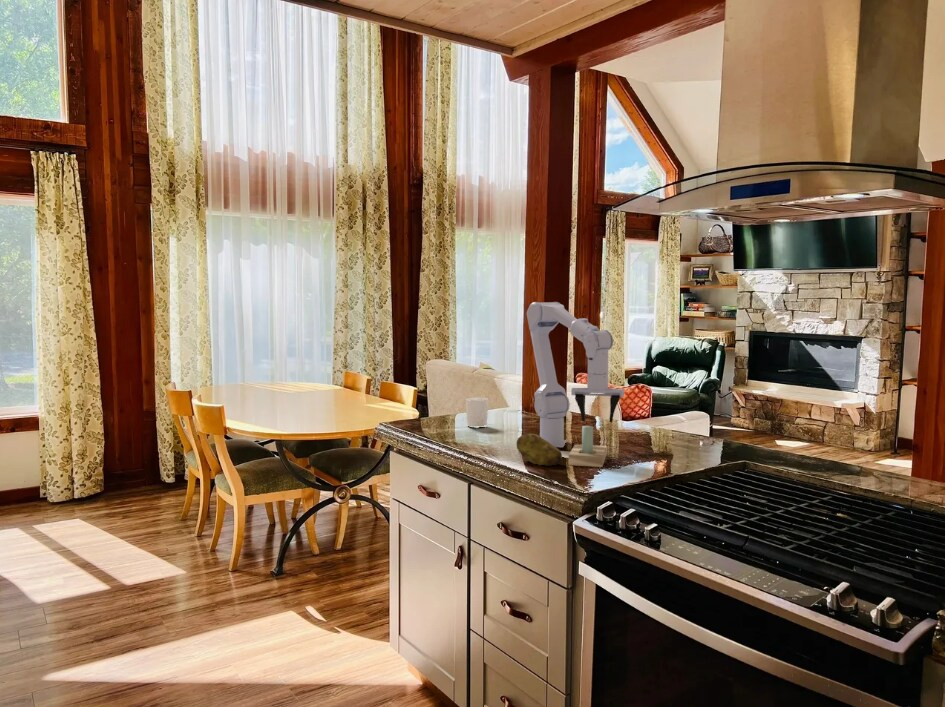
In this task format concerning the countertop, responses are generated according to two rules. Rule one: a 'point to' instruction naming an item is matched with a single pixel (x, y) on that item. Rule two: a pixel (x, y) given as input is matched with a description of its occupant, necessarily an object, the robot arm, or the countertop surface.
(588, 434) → the peg
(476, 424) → the white cup
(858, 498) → the countertop surface
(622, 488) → the countertop surface
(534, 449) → the potato
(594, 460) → the socket block
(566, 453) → the mat
